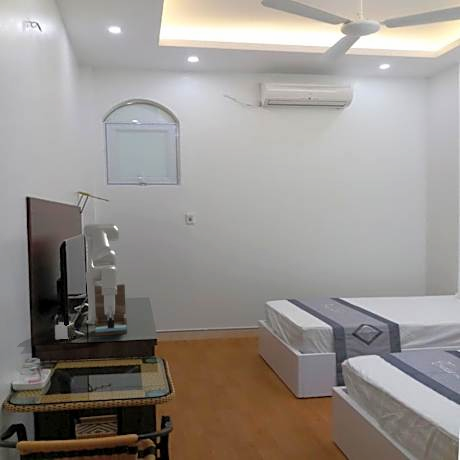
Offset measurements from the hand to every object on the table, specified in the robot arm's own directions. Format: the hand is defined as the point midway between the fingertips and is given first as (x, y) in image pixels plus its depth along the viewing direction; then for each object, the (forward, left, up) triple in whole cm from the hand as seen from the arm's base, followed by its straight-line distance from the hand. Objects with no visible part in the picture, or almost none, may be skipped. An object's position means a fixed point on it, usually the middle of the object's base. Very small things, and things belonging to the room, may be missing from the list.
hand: (110, 327), depth 249 cm
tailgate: (-8, 0, -1) cm, 8 cm away
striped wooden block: (-17, 0, -6) cm, 18 cm away
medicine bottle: (-11, -23, -6) cm, 26 cm away
